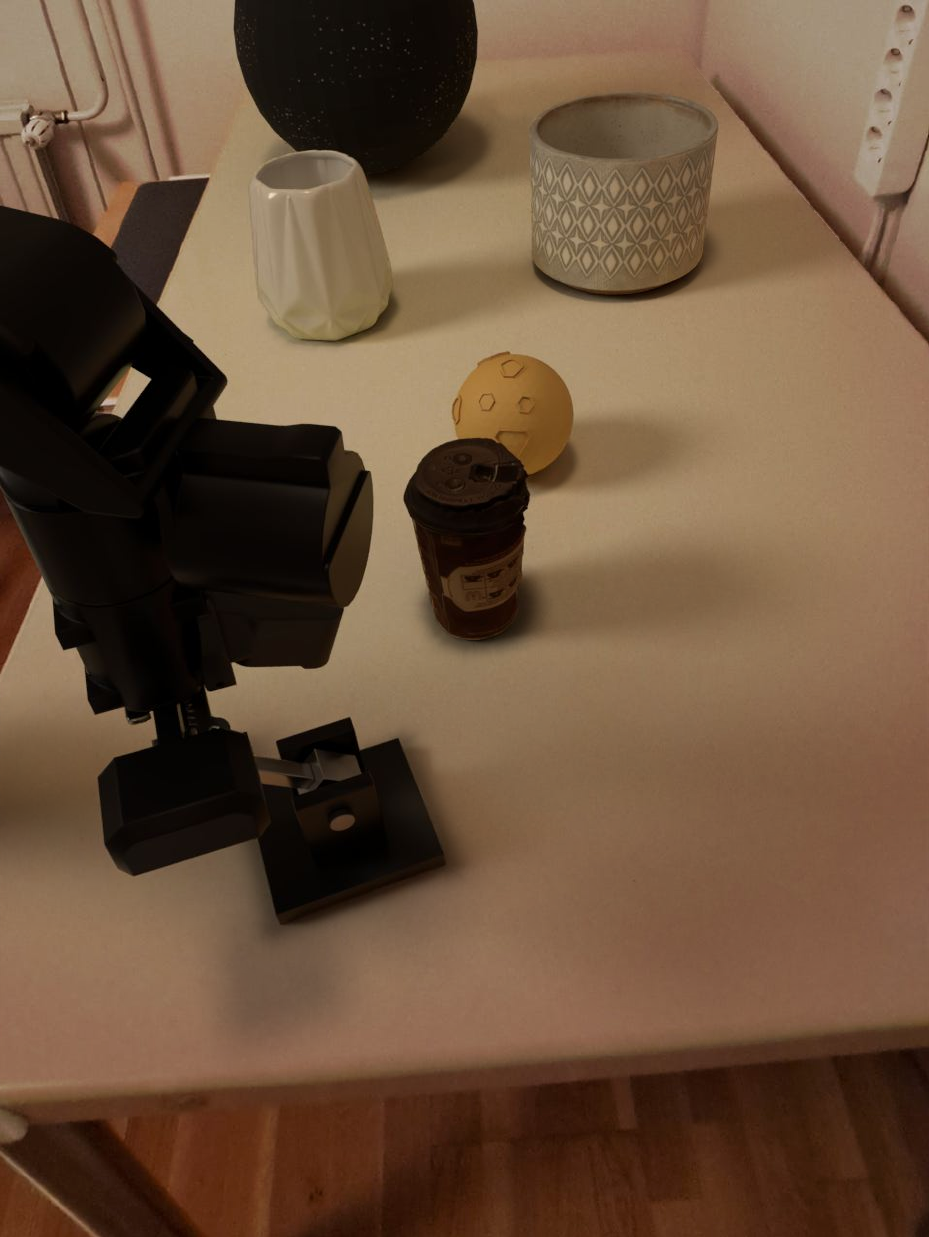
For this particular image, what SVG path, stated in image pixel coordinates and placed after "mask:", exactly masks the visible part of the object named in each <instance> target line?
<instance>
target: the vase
mask: <svg viewBox="0 0 929 1237" xmlns="http://www.w3.org/2000/svg"><path fill="white" fill-rule="evenodd" d="M248 185H249V186H248V201H249V218H250V230H251V245H252V257H253V258H252V259H253V270H254V278H255V287H256V292H257V300H258V301H259V303H260V304H261V306H262V307H263V309H264V310H265V311H266V312H267V314H268V315H270V317H271V320H272V321H273V322H274V323H275V324H276V325H277V326H278V327H280V328H281V329H283V330H285V331H287V332H288V333H289V335H291V336H292V337H294V338H296V339H299V340H311V341H312V340H314V341H330V342H331V341H335V342H336V341H339V340H342V339H344V338H345V339H346V338H348V337H350V336H353V335H355V334H358V333H360V332H363V331H365V330H368V329H371V328H372V327H373V326H374V325H375V324H376V323H377V321H378V318H379V316H380V315H381V314H382V313H383V312H384V311H385V310H386V309H387V307H388V306H389V299H390V293H391V290H392V288H393V287H392V286H393V282H394V279H393V278H394V277H393V269H392V264H391V260H390V256H389V252H388V249H387V244H386V241H385V238H384V233H383V230H382V227H381V223H380V220H379V217H378V213H377V209H376V206H375V203H374V200H373V196H372V193H371V190H370V186H369V182H368V180H367V177H366V174H364V171H363V169H362V167H361V166H360V164H359V163H358V162H357V161H356V160H355V159H354V158H352V157H349V156H348V155H347V154H344V153H340V152H337V151H330V150H322V151H318V150H309V151H302V152H297V151H295V152H288V153H286V154H284V155H279V156H276V157H274V158H271V159H269V160H266V161H265V162H264V163H262V164H261V165H260V166H258V167H257V170H255V171H254V173H253V174H252V176H251V178H250V180H249V184H248Z"/></svg>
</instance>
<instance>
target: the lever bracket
mask: <svg viewBox="0 0 929 1237" xmlns="http://www.w3.org/2000/svg"><path fill="white" fill-rule="evenodd" d="M275 744H276V748H277V751H278V755H279V758H280V760H287V761H293V762H299V763H304V761H305V760H306V759H307V757H308V756H309V755H310V754H311V752H312V751H313V750H314V749H320V750H326V751H332V752H338V753H343V754H349V755H355V757H356V760H357V763H358V766H359V768H360V771H361V774H359V775H356V776H353V777H350V778H347V779H344V780H341V781H338V782H335V783H332V784H329V785H326V786H323V787H320V788H317V789H314V790H311V791H308V792H305V793H302V794H299V793H298V789H296V788H289V787H282V786H275V785H267V784H262V787H263V792H264V796H265V800H266V804H267V808H268V812H269V816H270V820H271V823H270V824H269V825H268V827H267V828H266V830H265V831H264V833H263V834H262V835H261V837H259V838H256V839H257V843H258V848H259V851H260V855H261V856H260V857H261V861H262V864H263V869H264V872H265V873H264V874H265V877H266V881H267V885H268V890H269V893H270V898H271V902H272V905H273V910H274V914H275V917H276V919H277V922H278V923H279V926H280V925H283V924H287V923H289V922H291V921H292V922H293V921H295V920H297V919H300V918H302V917H305V916H309V915H310V914H314V913H316V912H319V911H322V910H325V909H327V908H330V907H333V906H335V905H339V904H341V903H344V902H347V901H350V900H352V899H355V898H357V897H360V896H363V895H367V894H369V893H371V892H374V891H377V890H381V889H383V888H385V887H389V886H390V885H393V884H396V883H399V882H402V881H405V880H407V879H410V878H413V877H415V876H418V875H421V874H423V873H424V874H425V873H427V872H429V871H432V870H436V869H437V868H441V867H443V866H446V864H447V862H446V856H445V855H446V854H445V853H444V850H443V846H442V845H441V842H440V839H439V838H438V835H437V832H436V830H435V827H434V825H433V821H432V819H431V817H430V814H429V812H428V809H427V806H426V804H425V802H424V798H423V797H422V794H421V792H420V789H419V786H418V783H417V781H416V779H415V776H414V774H413V772H412V769H411V766H410V764H409V761H408V759H407V755H406V754H405V751H404V748H403V746H402V743H401V740H400V738H399V737H396V738H393V739H390V740H387V741H384V742H381V743H378V744H375V745H372V746H369V747H366V748H363V749H360V745H359V741H358V737H357V733H356V728H355V726H354V723H353V721H352V718H351V716H348V717H345V718H342V719H338V720H335V721H333V722H329V723H326V724H323V725H320V726H317V727H314V728H310V729H307V730H305V731H302V732H298V733H295V734H291V735H289V736H286V737H282V738H279V739H276V740H275Z"/></svg>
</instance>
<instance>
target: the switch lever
mask: <svg viewBox="0 0 929 1237" xmlns="http://www.w3.org/2000/svg"><path fill="white" fill-rule="evenodd" d="M188 723H189V722H188V720H187V715H186V716H184V717H183V724H184V729H185V731H187V730H190V728H189V726H188ZM254 757H255V761H256V764H257V768H258V772H259V775H260V779H261V783H262V784H267V785H275V786H282V787H289V788H296V789H298V793H299V794H302V793H305V792H308V791H311V790H314V789H317V788H320V787H323V786H326V785H329V784H332V783H335V782H338V781H341V780H344V779H347V778H350V777H353V776H356V775H359V774H361V771H360V768H359V766H358V763H357V760H356V757H355V755H349V754H343V753H338V752H332V751H326V750H320V749H314V750H313V751H312V752H311V754H310V755H309V756H308V757H307V759H306V760H305V761H304V763H299V762H293V761H287V760H281V758H280V759H279V758H274V757H273V758H272V757H267V756H262V755H261V756H260V755H256V754H254Z"/></svg>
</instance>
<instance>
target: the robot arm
mask: <svg viewBox="0 0 929 1237" xmlns="http://www.w3.org/2000/svg"><path fill="white" fill-rule="evenodd" d="M194 342H195V341H194V339H193V338H191V337H190V336H189V335H187V333H186V332H184V331H182V330H181V328H180V327H178V325H176V323H175V322H174V321H173V320H172V319H171V318H170V317H169V316H168V315H167V314H166V313H165V312H164V311H163V310H162V309H161V308H160V307H159V306H158V305H157V304H156V302H154V301H153V300H152V299H151V298H150V297H149V296H148V295H147V294H146V293H145V291H143V290H142V289H141V288H140V287H139V285H137V284H136V283H135V282H134V281H133V280H132V278H130V276H129V275H127V274H126V272H125V271H124V270H123V269H122V267H121V266H120V264H119V257H118V254H117V253H116V252H115V251H114V250H113V249H112V248H111V247H110V246H109V245H108V244H106V243H105V242H104V241H103V240H102V239H101V238H99V237H97V236H96V235H94V234H93V233H91V232H89V231H87V230H85V229H84V228H82V227H80V226H79V225H76V224H74V223H72V222H69V221H65V220H62V219H59V218H56V217H52V216H47V215H43V214H40V213H35V212H31V211H26V210H23V209H17V208H13V207H10V206H5V205H1V204H0V490H1V492H2V495H3V498H4V499H5V501H6V503H7V506H8V507H9V509H10V512H11V514H12V516H13V518H14V521H15V522H16V525H17V526H18V529H19V531H20V533H21V535H22V537H23V539H24V542H25V543H26V545H27V548H28V550H29V552H30V554H31V556H32V558H33V560H34V562H35V564H36V566H37V569H38V571H39V573H40V575H41V577H42V579H43V581H44V584H45V586H46V587H47V589H48V592H49V594H50V596H51V598H52V599H51V600H52V612H53V626H54V635H55V636H56V639H57V640H58V643H59V644H60V645H59V646H60V647H61V648H62V651H63V652H64V651H67V650H72V649H76V651H77V653H78V655H79V657H80V659H81V661H82V664H83V668H84V676H85V688H86V697H87V702H88V704H89V707H90V708H91V710H92V712H93V714H94V715H95V716H97V715H100V714H104V713H107V712H111V711H115V710H119V709H122V708H124V715H125V719H126V721H127V723H128V725H130V726H136V725H140V724H143V723H146V722H148V721H150V720H152V715H153V721H154V727H155V732H156V733H155V734H156V738H155V739H151V740H150V742H151V746H149V747H147V748H143V749H139V750H136V751H132V752H129V753H125V754H121V755H118V756H115V757H113V758H112V759H111V760H110V762H108V763H107V765H106V766H105V767H104V769H102V771H101V772H100V773H99V774H98V776H97V785H98V795H99V796H98V797H99V806H100V814H101V824H102V834H103V835H102V836H103V844H104V848H105V849H106V850H107V852H108V854H109V856H110V857H111V859H112V861H113V863H114V865H115V867H116V868H117V870H119V871H120V872H121V871H122V872H123V873H126V874H128V875H130V876H132V877H136V876H137V877H138V876H140V875H143V874H146V873H149V872H153V871H156V870H160V869H163V868H165V867H169V866H172V865H176V864H179V863H182V862H184V861H188V860H192V859H195V858H198V857H201V856H205V855H208V854H211V853H214V852H217V851H220V850H223V849H227V848H230V847H233V846H236V845H240V844H243V843H246V842H249V841H253V840H256V839H257V838H259V837H261V835H262V834H263V833H264V831H265V830H266V828H267V827H268V825H269V824H270V823H271V820H270V816H269V812H268V808H267V804H266V800H265V796H264V792H263V787H262V783H261V779H260V775H259V772H258V768H257V764H256V761H255V757H254V755H255V752H254V750H253V747H252V743H251V740H250V737H249V734H248V731H243V732H241V731H237V730H234V729H232V727H231V725H230V722H229V721H228V720H227V719H226V718H223V717H221V716H214V715H212V712H211V706H210V702H209V698H208V693H211V692H216V691H219V690H222V689H227V688H230V687H234V686H237V685H238V682H237V679H236V676H235V672H234V668H233V664H235V665H238V666H241V667H245V668H281V667H285V668H286V667H300V668H302V669H303V670H315V669H319V668H323V667H325V666H326V665H327V664H328V663H329V661H330V659H331V658H330V657H331V654H332V650H333V648H334V644H335V642H336V638H337V635H338V631H339V628H340V625H341V621H342V618H343V615H344V612H345V608H347V607H349V606H350V605H351V604H352V603H353V601H354V600H355V598H356V597H357V594H358V592H360V588H361V587H362V586H361V585H362V582H363V580H364V575H365V572H366V569H367V566H368V560H369V556H370V550H371V544H372V538H373V537H372V536H373V526H374V504H375V503H374V500H375V498H374V484H373V476H372V471H371V470H366V468H365V464H364V460H363V458H362V457H361V455H360V454H359V453H358V452H356V451H354V450H349V449H345V444H344V436H343V431H342V430H340V428H338V427H337V426H335V425H326V424H317V423H295V424H287V425H283V424H281V425H279V424H268V423H260V422H259V423H258V422H249V421H238V420H227V419H217V415H216V410H215V404H216V403H217V401H218V400H219V398H220V396H221V395H222V394H223V392H224V390H225V389H226V387H227V386H228V378H227V376H226V374H225V373H224V372H223V371H222V370H221V369H220V368H219V366H217V365H216V364H215V363H214V362H213V361H212V359H211V358H209V356H207V355H206V354H205V353H204V352H203V351H202V350H201V348H199V347H198V346H197V345H196V344H195V343H194ZM130 368H131V369H134V370H135V371H137V372H138V373H140V374H142V375H143V376H145V377H146V378H149V379H150V380H149V381H148V383H147V384H146V386H145V387H144V388H143V390H142V391H141V393H140V394H139V395H138V396H137V398H136V400H134V402H132V405H131V406H130V407H129V409H128V410H127V411H126V413H125V414H124V416H123V417H121V416H120V415H116V414H114V413H107V412H106V413H105V412H97V411H98V410H99V408H100V407H101V406H102V404H103V403H104V401H106V400H107V398H108V397H109V396H110V394H111V393H112V391H114V389H115V388H116V386H117V385H118V384H119V383H120V382H121V380H122V379H123V377H124V376H125V375H126V374H127V373H128V371H129V370H130ZM151 712H152V715H151ZM186 715H187V720H188V722H189V723H188V726H189V728H190V730H187V731H185V729H184V724H183V717H184V716H186Z"/></svg>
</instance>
